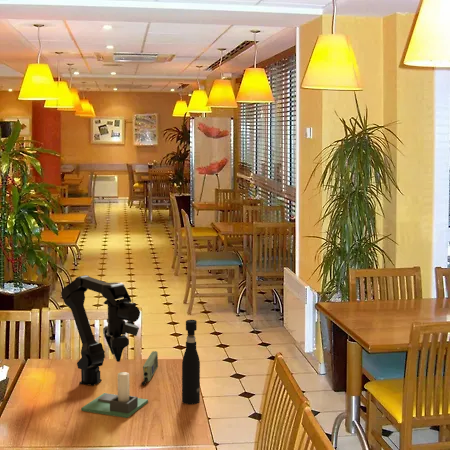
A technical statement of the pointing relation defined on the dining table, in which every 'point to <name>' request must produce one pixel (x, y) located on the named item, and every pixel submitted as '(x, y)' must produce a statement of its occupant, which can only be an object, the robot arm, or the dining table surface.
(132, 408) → the board
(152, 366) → the handheld radio
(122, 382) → the white cylinder
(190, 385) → the wine bottle
